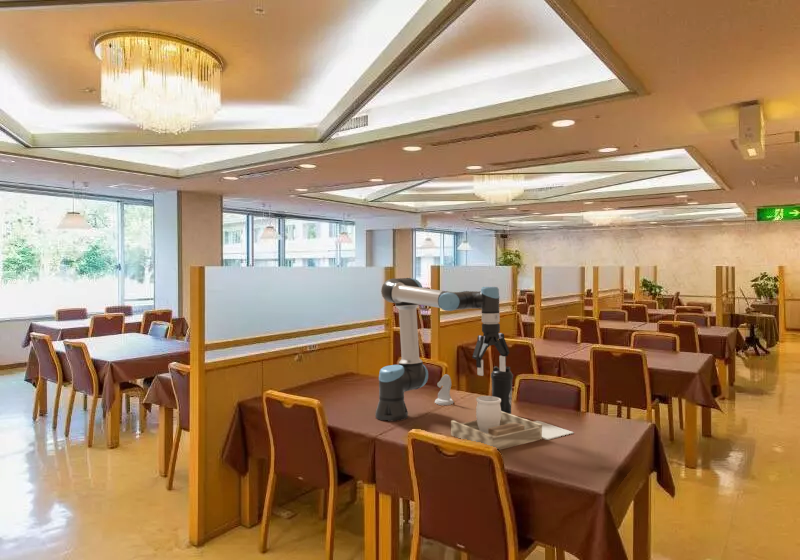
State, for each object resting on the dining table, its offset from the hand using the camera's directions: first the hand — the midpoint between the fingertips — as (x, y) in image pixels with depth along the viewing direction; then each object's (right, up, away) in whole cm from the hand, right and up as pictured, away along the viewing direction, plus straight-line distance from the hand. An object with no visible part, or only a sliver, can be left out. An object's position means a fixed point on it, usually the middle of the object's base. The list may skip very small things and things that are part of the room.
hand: (491, 373), depth 223 cm
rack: (+1, -25, -6) cm, 26 cm away
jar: (-2, -25, -2) cm, 26 cm away
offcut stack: (+4, -26, -11) cm, 28 cm away
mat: (+22, -25, +3) cm, 34 cm away
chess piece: (-16, -24, +48) cm, 56 cm away
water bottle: (+9, -25, +25) cm, 37 cm away
